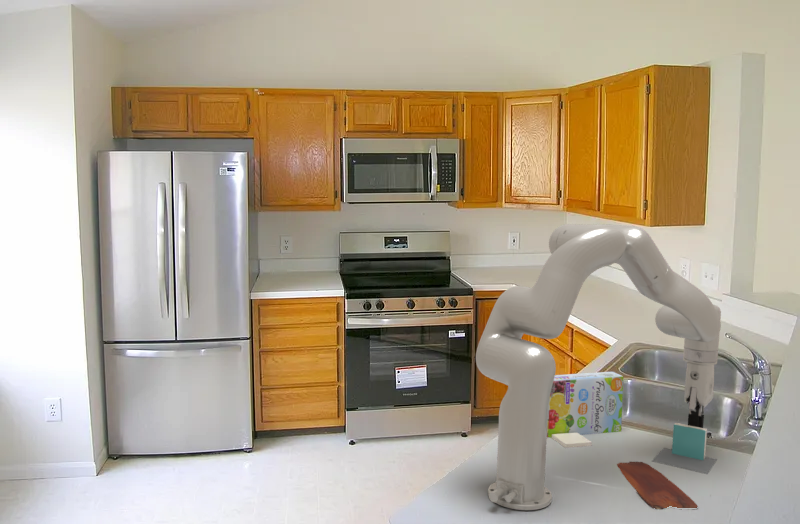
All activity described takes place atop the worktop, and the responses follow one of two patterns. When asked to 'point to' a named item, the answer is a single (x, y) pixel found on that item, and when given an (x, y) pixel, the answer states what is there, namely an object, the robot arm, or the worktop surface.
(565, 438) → the tile
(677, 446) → the tile
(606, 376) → the snack box
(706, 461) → the mat
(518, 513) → the worktop surface
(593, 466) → the worktop surface
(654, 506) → the wooden tablet
